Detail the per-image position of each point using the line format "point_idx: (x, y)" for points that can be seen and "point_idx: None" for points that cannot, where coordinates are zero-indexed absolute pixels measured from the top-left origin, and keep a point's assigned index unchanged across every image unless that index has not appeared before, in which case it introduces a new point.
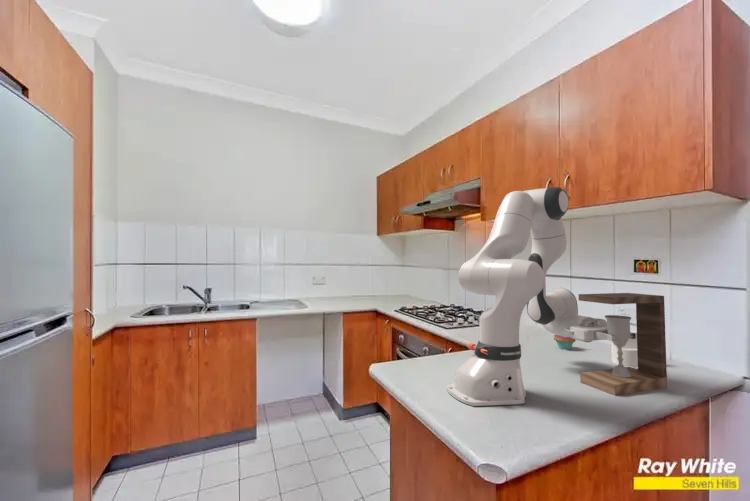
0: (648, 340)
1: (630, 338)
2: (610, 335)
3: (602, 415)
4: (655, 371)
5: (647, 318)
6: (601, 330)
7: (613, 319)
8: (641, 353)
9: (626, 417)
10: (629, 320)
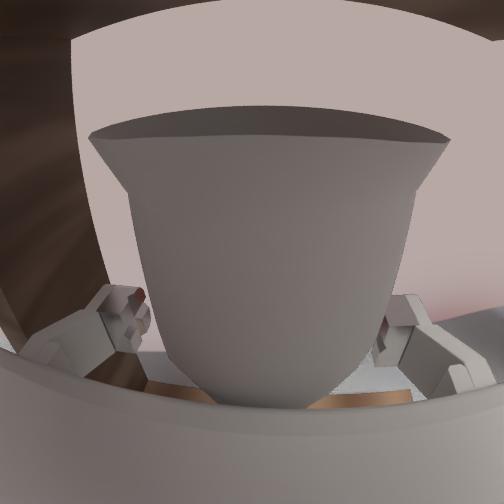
0: (70, 301)
1: (140, 336)
2: (418, 299)
3: (492, 330)
4: (134, 387)
5: (26, 160)
6: (412, 403)
7: (403, 141)
8: None
9: (456, 320)
10: (253, 130)
